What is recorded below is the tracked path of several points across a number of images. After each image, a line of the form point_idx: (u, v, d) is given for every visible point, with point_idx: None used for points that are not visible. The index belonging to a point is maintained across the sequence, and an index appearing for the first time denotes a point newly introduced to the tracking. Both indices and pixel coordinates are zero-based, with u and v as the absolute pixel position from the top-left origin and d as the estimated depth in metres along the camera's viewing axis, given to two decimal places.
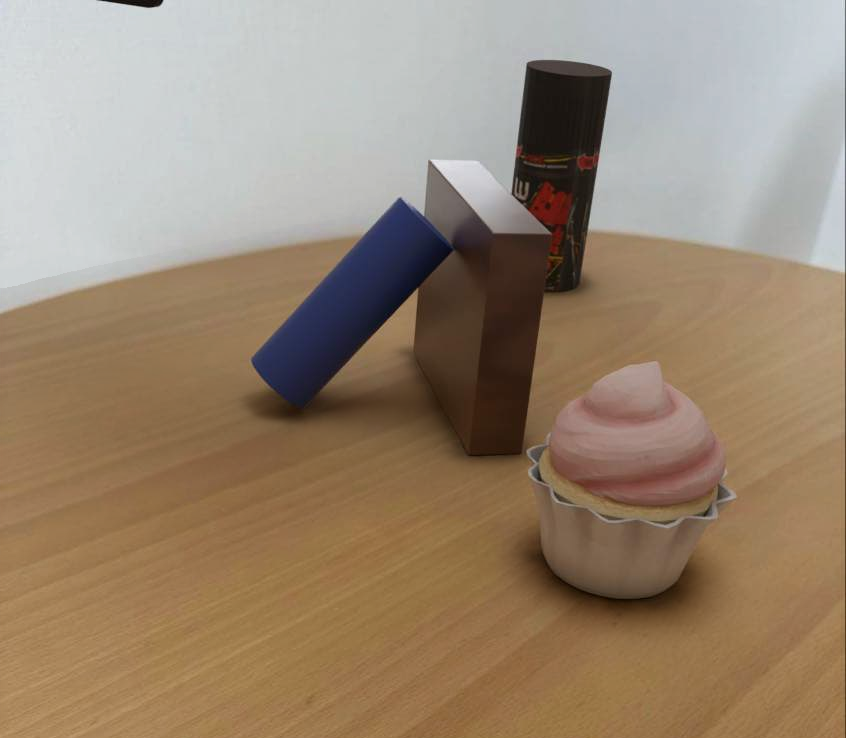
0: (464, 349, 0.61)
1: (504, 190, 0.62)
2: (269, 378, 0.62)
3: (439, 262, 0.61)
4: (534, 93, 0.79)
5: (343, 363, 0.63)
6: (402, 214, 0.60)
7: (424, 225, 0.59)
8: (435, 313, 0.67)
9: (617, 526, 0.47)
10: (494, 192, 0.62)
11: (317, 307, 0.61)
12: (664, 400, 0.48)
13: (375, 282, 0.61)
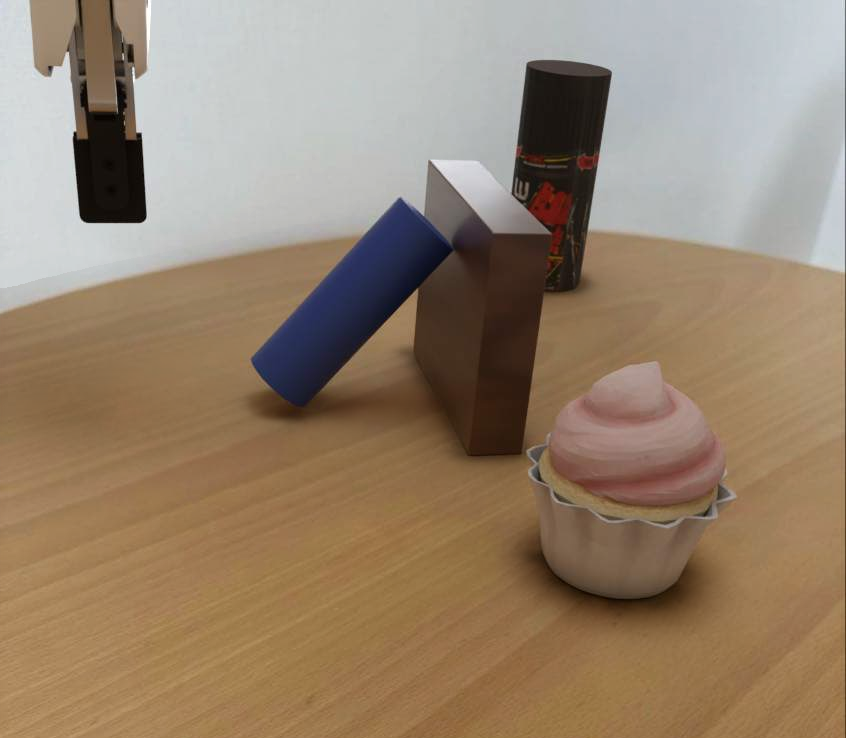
0: (464, 349, 0.61)
1: (504, 190, 0.62)
2: (269, 378, 0.62)
3: (439, 262, 0.61)
4: (534, 93, 0.79)
5: (343, 363, 0.63)
6: (402, 214, 0.60)
7: (424, 225, 0.59)
8: (435, 313, 0.67)
9: (617, 526, 0.47)
10: (494, 192, 0.62)
11: (317, 307, 0.61)
12: (664, 400, 0.48)
13: (375, 282, 0.61)
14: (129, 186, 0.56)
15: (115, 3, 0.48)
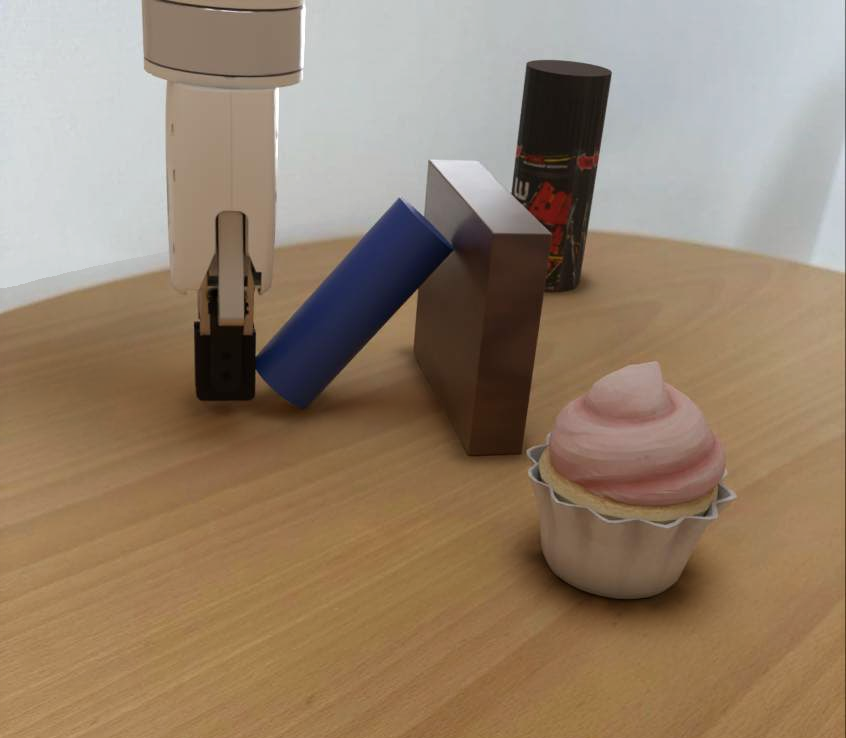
0: (464, 349, 0.61)
1: (504, 190, 0.62)
2: (271, 379, 0.63)
3: (439, 262, 0.61)
4: (534, 93, 0.79)
5: (344, 364, 0.63)
6: (401, 215, 0.60)
7: (423, 225, 0.60)
8: (435, 313, 0.67)
9: (617, 526, 0.47)
10: (494, 192, 0.62)
11: (317, 308, 0.62)
12: (664, 400, 0.48)
13: (375, 283, 0.61)
14: (241, 370, 0.63)
15: (249, 240, 0.55)
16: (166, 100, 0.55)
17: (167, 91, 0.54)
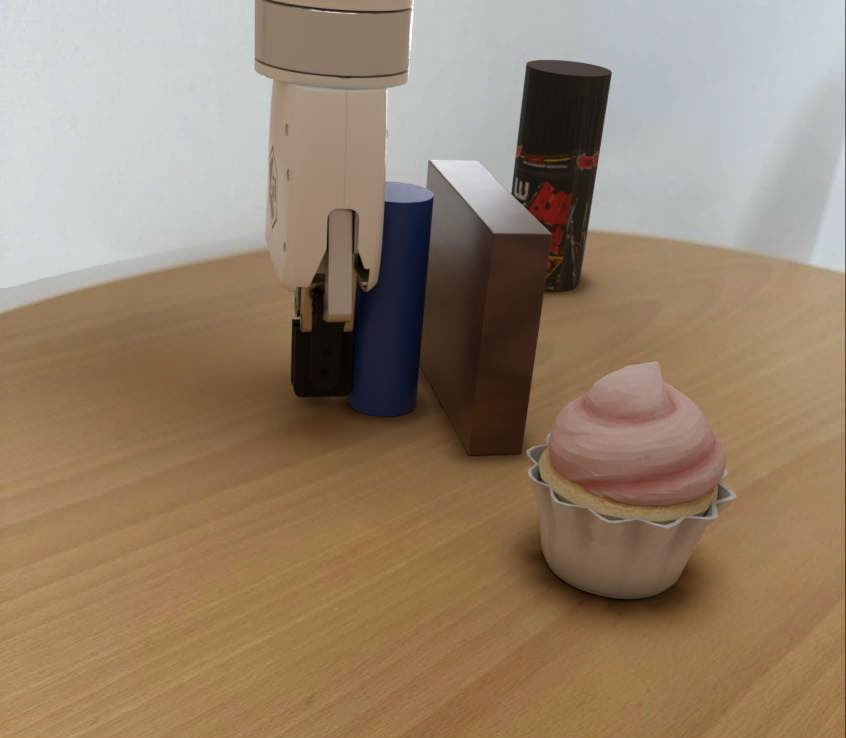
0: (464, 349, 0.61)
1: (504, 190, 0.62)
2: (366, 408, 0.65)
3: (427, 218, 0.60)
4: (534, 93, 0.79)
5: (416, 353, 0.64)
6: None
7: (388, 203, 0.58)
8: (435, 313, 0.67)
9: (617, 526, 0.47)
10: (494, 192, 0.62)
11: (360, 328, 0.63)
12: (664, 400, 0.48)
13: (386, 277, 0.60)
14: None
15: (359, 237, 0.56)
16: (276, 101, 0.56)
17: (278, 92, 0.56)
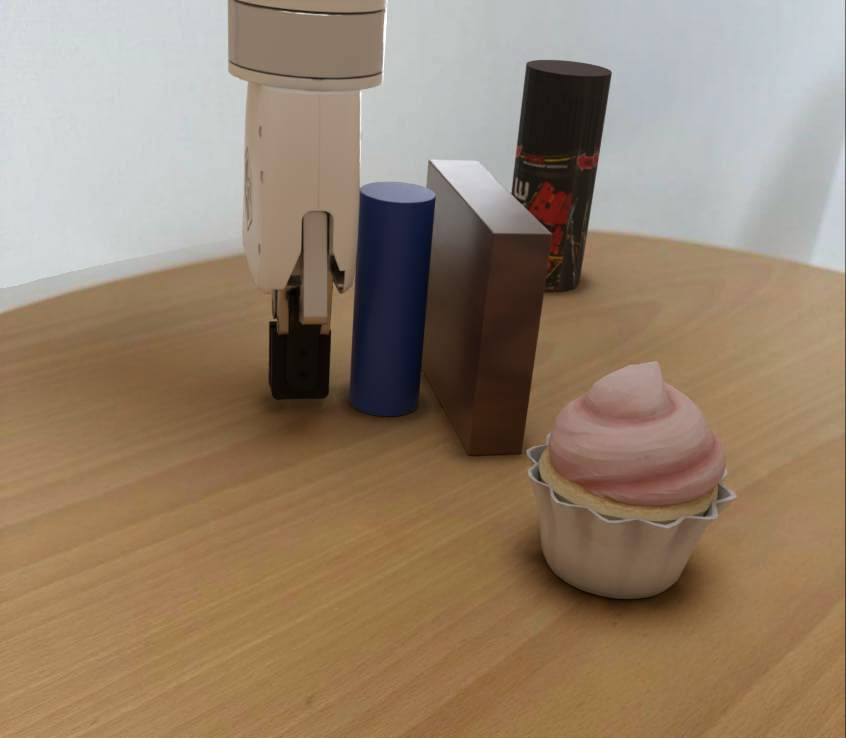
0: (464, 349, 0.61)
1: (504, 190, 0.62)
2: (368, 408, 0.65)
3: (429, 218, 0.60)
4: (534, 93, 0.79)
5: (418, 353, 0.64)
6: (368, 207, 0.59)
7: (390, 203, 0.58)
8: (435, 313, 0.67)
9: (617, 526, 0.47)
10: (494, 192, 0.62)
11: (362, 328, 0.63)
12: (664, 400, 0.48)
13: (388, 277, 0.60)
14: None
15: (334, 239, 0.56)
16: (250, 103, 0.56)
17: (252, 94, 0.55)
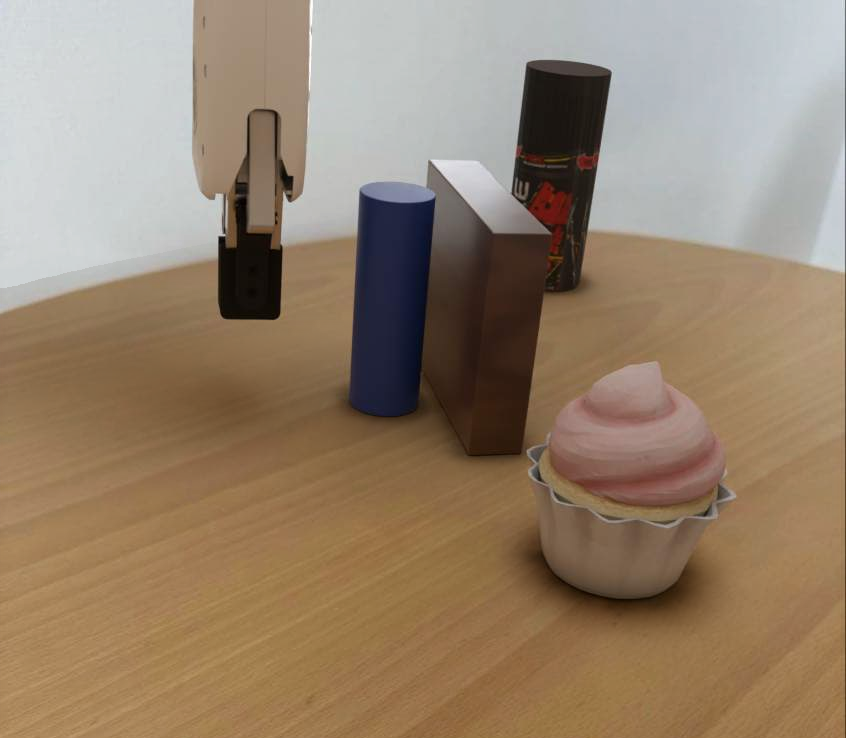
0: (464, 349, 0.61)
1: (504, 190, 0.62)
2: (368, 408, 0.65)
3: (429, 218, 0.60)
4: (534, 93, 0.79)
5: (418, 353, 0.64)
6: (368, 207, 0.59)
7: (390, 203, 0.58)
8: (435, 313, 0.67)
9: (617, 526, 0.47)
10: (494, 192, 0.62)
11: (362, 328, 0.63)
12: (664, 400, 0.48)
13: (388, 277, 0.60)
14: None
15: (281, 141, 0.53)
16: None
17: None
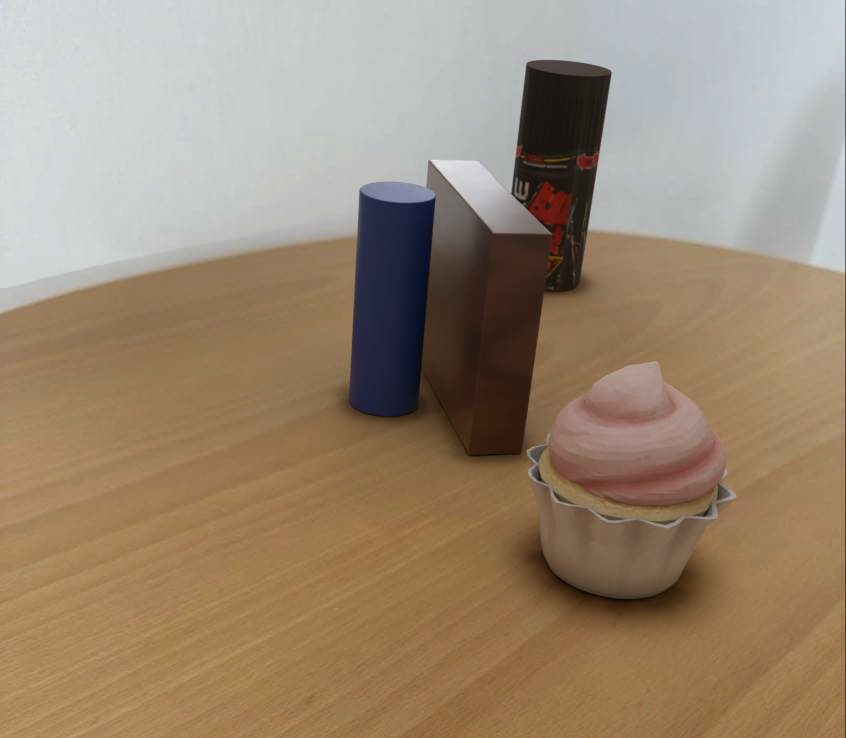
0: (464, 349, 0.61)
1: (504, 190, 0.62)
2: (368, 408, 0.65)
3: (429, 218, 0.60)
4: (534, 93, 0.79)
5: (418, 353, 0.64)
6: (368, 207, 0.59)
7: (390, 203, 0.58)
8: (435, 313, 0.67)
9: (617, 526, 0.47)
10: (494, 192, 0.62)
11: (362, 328, 0.63)
12: (664, 400, 0.48)
13: (388, 277, 0.60)
14: None
15: None
16: None
17: None
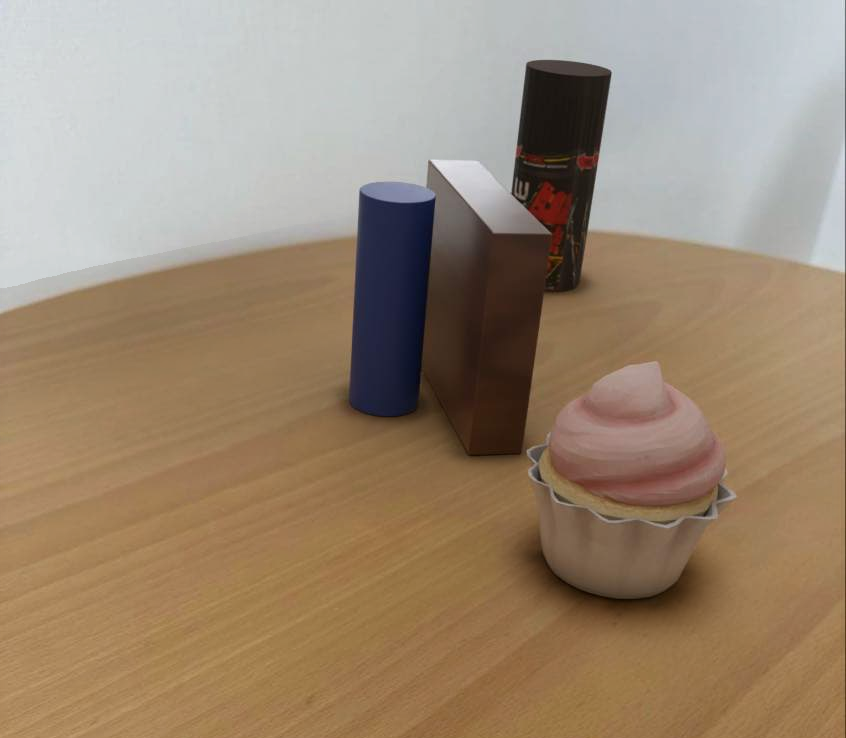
0: (464, 349, 0.61)
1: (504, 190, 0.62)
2: (368, 408, 0.65)
3: (429, 218, 0.60)
4: (534, 93, 0.79)
5: (418, 353, 0.64)
6: (368, 207, 0.59)
7: (390, 203, 0.58)
8: (435, 313, 0.67)
9: (617, 526, 0.47)
10: (494, 192, 0.62)
11: (362, 328, 0.63)
12: (664, 400, 0.48)
13: (388, 277, 0.60)
14: None
15: None
16: None
17: None
